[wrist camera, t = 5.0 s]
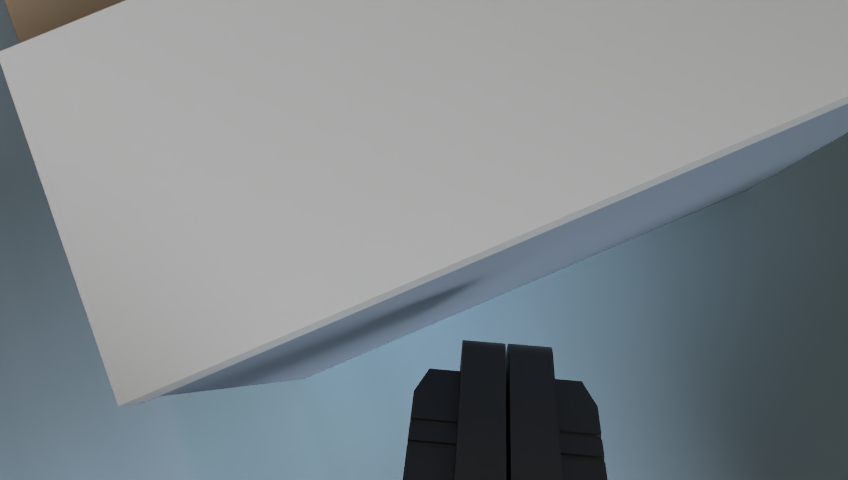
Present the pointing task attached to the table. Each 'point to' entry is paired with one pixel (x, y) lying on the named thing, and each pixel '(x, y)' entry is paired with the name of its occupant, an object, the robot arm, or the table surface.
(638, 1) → the white box
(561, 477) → the robot arm
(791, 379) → the table surface
